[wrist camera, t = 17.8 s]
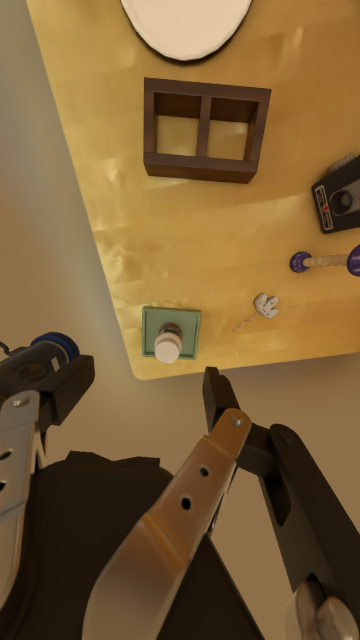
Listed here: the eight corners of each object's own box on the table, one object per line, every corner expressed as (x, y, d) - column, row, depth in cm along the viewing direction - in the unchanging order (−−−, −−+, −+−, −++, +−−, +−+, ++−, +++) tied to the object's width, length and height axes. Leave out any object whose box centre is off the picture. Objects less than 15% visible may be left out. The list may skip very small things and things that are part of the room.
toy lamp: (303, 244, 35) (405, 227, 19) (317, 259, 36) (426, 255, 20) (285, 263, 36) (367, 262, 20) (299, 277, 37) (388, 287, 21)
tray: (143, 352, 43) (142, 356, 41) (144, 306, 39) (142, 308, 37) (194, 356, 43) (195, 360, 41) (200, 310, 39) (201, 312, 37)
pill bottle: (187, 331, 41) (188, 351, 31) (172, 347, 42) (169, 371, 32) (168, 317, 39) (164, 333, 30) (154, 333, 41) (145, 354, 31)
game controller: (282, 301, 38) (288, 303, 36) (251, 340, 42) (255, 345, 39) (262, 288, 38) (268, 290, 35) (232, 329, 41) (235, 334, 38)
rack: (247, 184, 32) (256, 172, 28) (148, 175, 31) (143, 163, 28) (259, 112, 28) (271, 88, 25) (149, 102, 28) (143, 76, 24)
